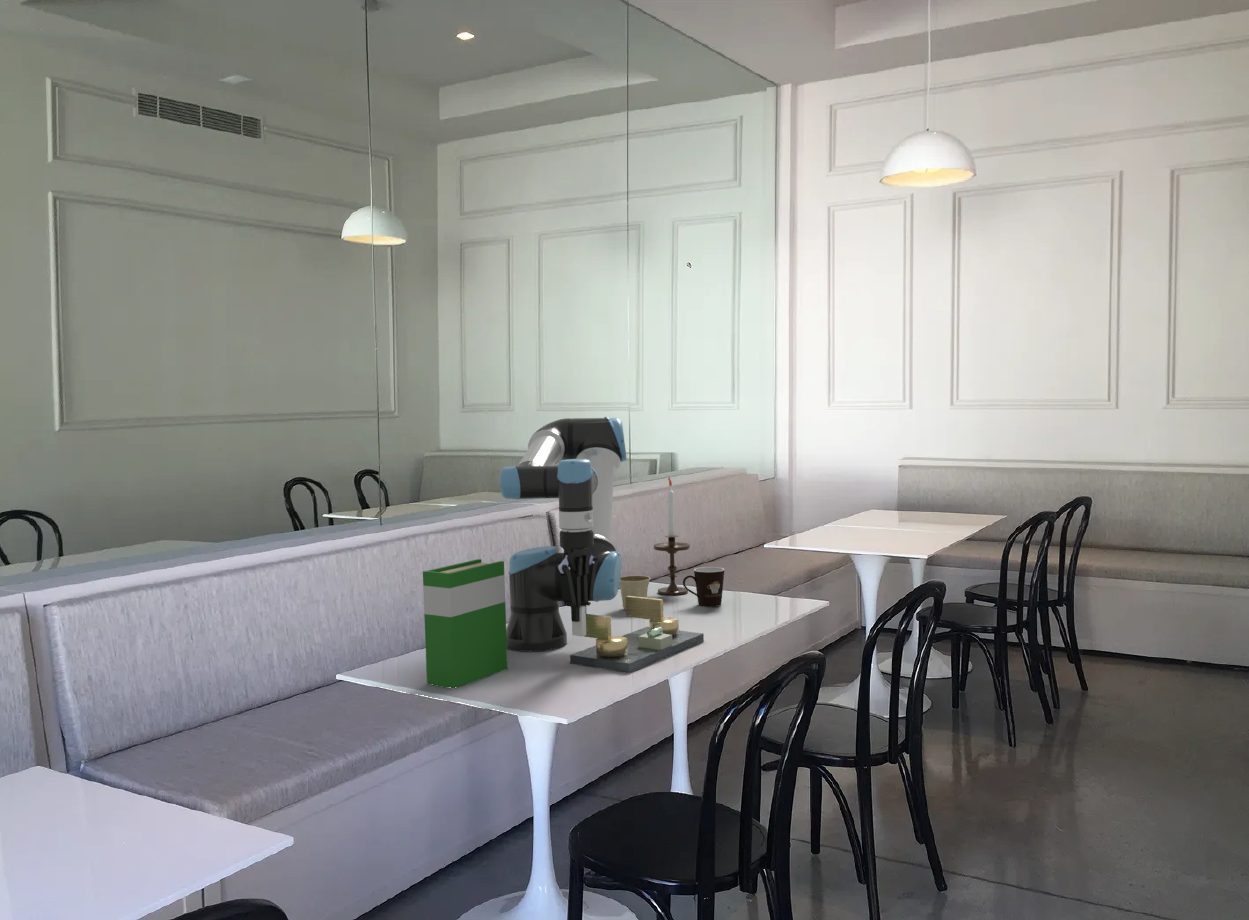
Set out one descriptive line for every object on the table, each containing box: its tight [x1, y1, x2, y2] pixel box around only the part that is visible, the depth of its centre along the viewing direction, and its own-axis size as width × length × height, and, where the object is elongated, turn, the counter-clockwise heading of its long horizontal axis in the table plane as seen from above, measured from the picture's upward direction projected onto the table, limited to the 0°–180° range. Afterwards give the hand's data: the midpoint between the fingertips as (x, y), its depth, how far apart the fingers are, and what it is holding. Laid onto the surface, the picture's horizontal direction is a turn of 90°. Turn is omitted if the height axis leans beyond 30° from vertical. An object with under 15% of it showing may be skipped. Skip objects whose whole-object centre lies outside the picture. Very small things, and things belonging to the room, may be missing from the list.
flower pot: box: [619, 575, 651, 611], centre depth 294 cm, size 9×9×9 cm
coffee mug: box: [682, 566, 725, 608], centre depth 297 cm, size 12×9×10 cm
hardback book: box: [422, 558, 508, 689], centre depth 227 cm, size 18×7×24 cm, turn 147°
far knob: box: [625, 596, 680, 636], centre depth 255 cm, size 14×7×8 cm, turn 56°
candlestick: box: [653, 476, 691, 597], centre depth 315 cm, size 11×11×35 cm
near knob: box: [571, 613, 628, 657], centre depth 237 cm, size 14×7×8 cm, turn 56°
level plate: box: [569, 626, 705, 674], centre depth 244 cm, size 32×16×6 cm, turn 146°
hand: (579, 635), depth 234 cm, fingers closed
